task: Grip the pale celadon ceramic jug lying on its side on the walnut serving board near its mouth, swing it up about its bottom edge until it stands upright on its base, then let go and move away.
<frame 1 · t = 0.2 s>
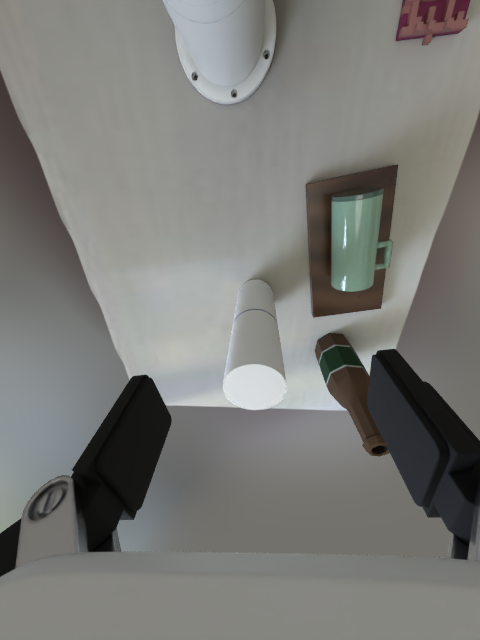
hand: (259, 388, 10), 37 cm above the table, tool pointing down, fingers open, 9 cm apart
serving board: (345, 251, 42), on the table
cylindrical container: (255, 295, 48), on the table
jug: (362, 240, 36), point 5 cm above the table, hinge at -88.1°
beer bottle: (331, 345, 53), on the table
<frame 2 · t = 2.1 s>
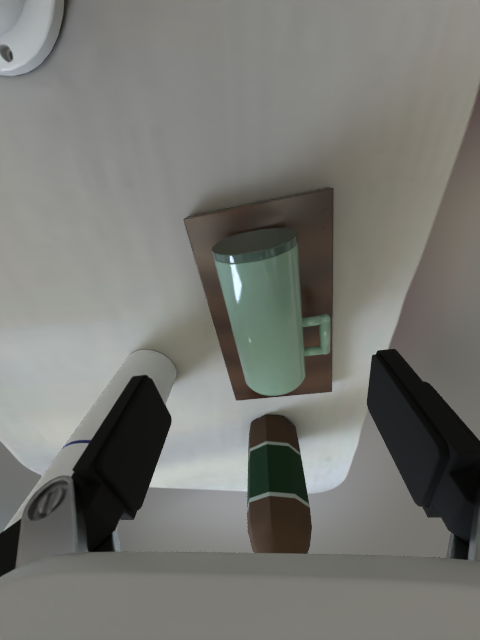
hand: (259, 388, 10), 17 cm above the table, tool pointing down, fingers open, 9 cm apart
serving board: (271, 315, 27), on the table
cylindrical container: (151, 369, 33), on the table
jug: (279, 314, 21), point 5 cm above the table, hinge at -88.1°
beer bottle: (271, 427, 38), on the table
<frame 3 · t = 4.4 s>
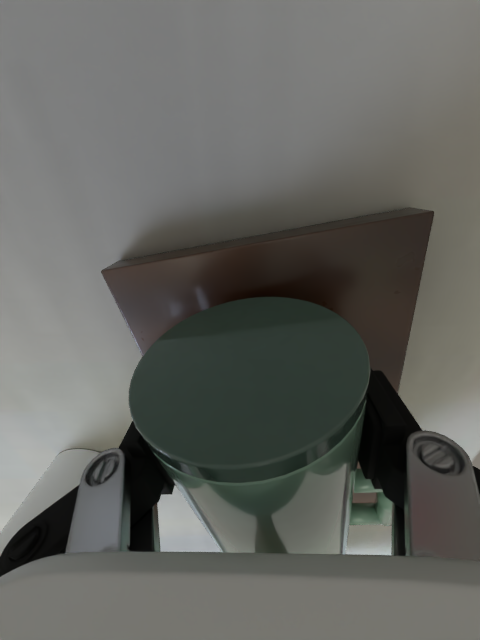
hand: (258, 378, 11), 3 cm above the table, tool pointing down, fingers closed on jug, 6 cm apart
serving board: (279, 415, 16), on the table
cylindrical container: (96, 469, 22), on the table
jug: (299, 468, 10), point 5 cm above the table, hinge at -88.1°, touching gripper
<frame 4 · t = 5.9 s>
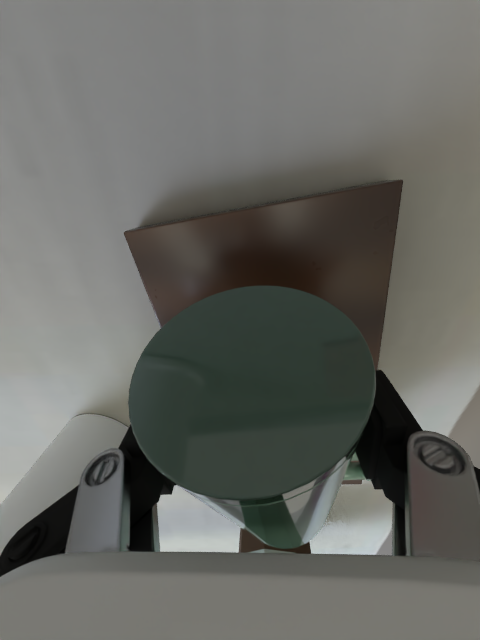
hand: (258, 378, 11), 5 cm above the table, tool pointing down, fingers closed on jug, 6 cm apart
serving board: (275, 379, 18), on the table
cylindrical container: (104, 436, 23), on the table
jug: (294, 443, 11), point 6 cm above the table, hinge at -75.8°, touching gripper
beer bottle: (271, 509, 28), on the table
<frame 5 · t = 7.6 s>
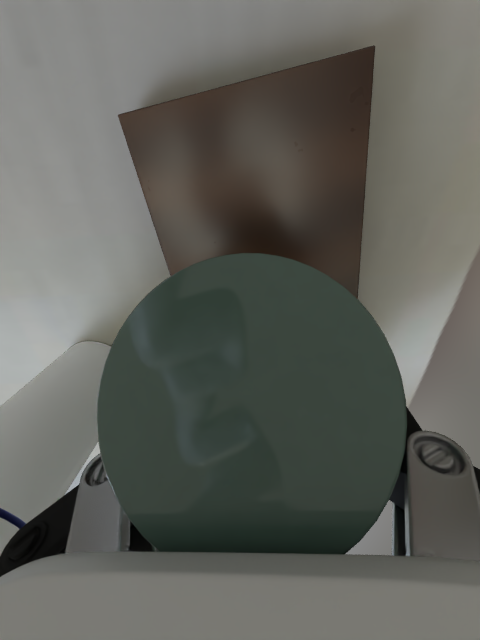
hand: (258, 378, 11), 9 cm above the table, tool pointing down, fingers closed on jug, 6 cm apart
serving board: (265, 293, 19), on the table
cylindrical container: (102, 368, 24), on the table
jug: (287, 386, 11), point 9 cm above the table, hinge at -45.3°, touching gripper
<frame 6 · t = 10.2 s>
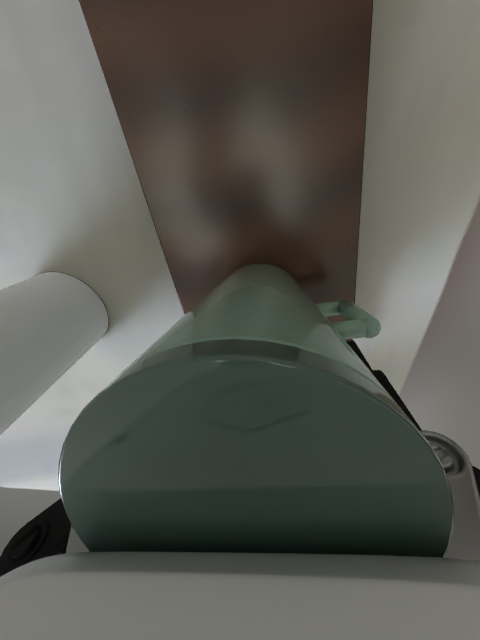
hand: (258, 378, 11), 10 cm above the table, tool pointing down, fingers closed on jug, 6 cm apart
serving board: (250, 197, 16), on the table
cylindrical container: (69, 309, 21), on the table
jug: (283, 347, 10), point 9 cm above the table, hinge at -11.4°, touching gripper
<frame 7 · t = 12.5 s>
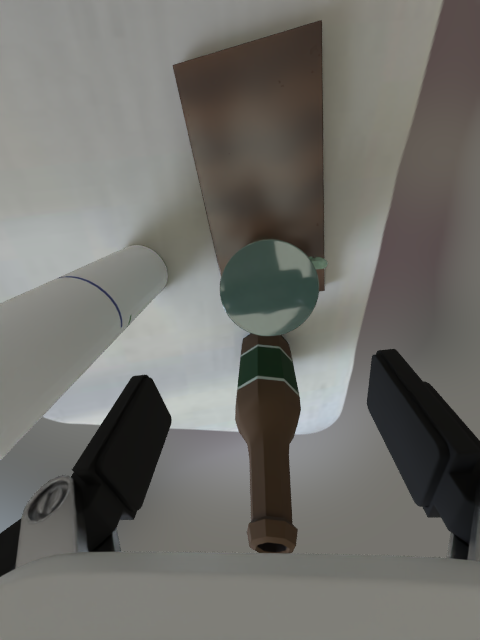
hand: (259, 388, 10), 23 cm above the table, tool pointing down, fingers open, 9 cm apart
serving board: (262, 198, 27), on the table
cylindrical container: (142, 271, 33), on the table
jug: (280, 272, 22), point 9 cm above the table, hinge at -9.2°
beer bottle: (264, 346, 37), on the table
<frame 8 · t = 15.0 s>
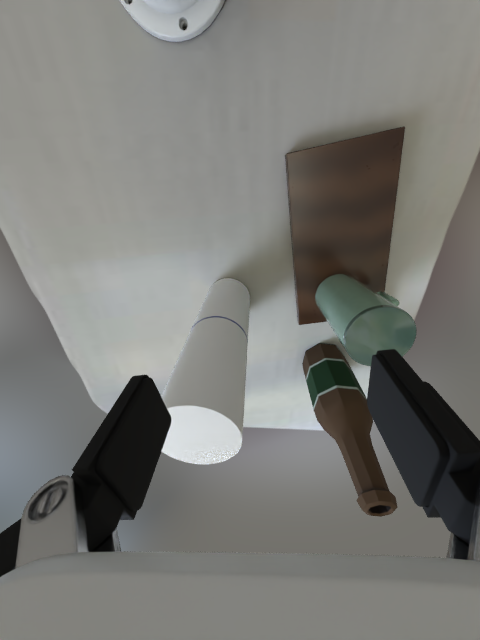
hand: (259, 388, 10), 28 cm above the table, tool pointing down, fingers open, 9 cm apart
serving board: (337, 243, 34), on the table
cylindrical container: (228, 298, 39), on the table
jug: (364, 310, 29), point 9 cm above the table, hinge at -6.6°
beer bottle: (321, 357, 45), on the table
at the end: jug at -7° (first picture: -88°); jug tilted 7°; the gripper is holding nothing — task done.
